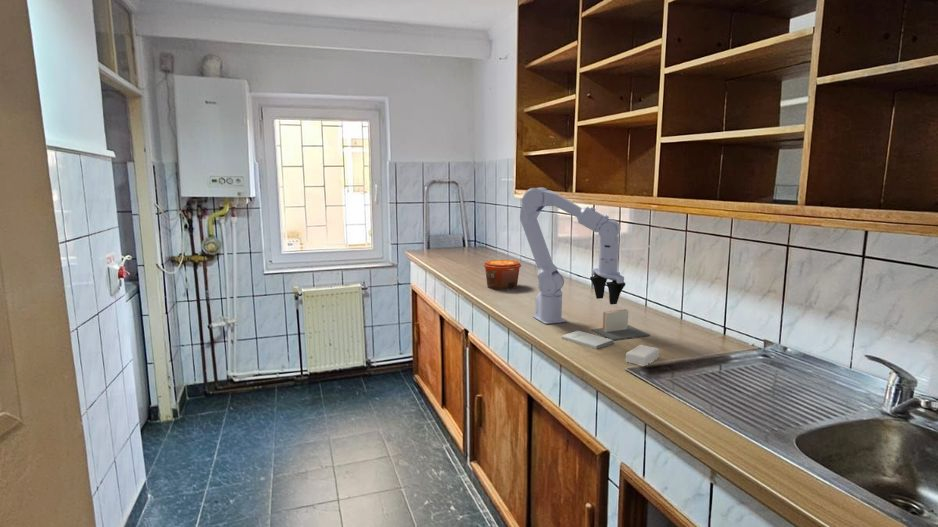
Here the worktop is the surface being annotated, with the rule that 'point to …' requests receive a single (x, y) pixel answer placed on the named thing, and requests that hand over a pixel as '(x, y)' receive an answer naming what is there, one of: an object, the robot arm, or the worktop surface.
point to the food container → (502, 274)
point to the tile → (615, 320)
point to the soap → (642, 355)
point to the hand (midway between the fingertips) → (606, 301)
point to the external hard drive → (587, 339)
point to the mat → (621, 333)
